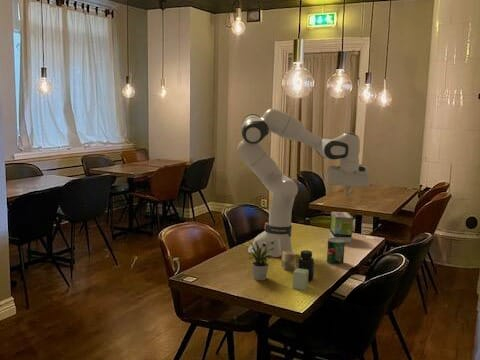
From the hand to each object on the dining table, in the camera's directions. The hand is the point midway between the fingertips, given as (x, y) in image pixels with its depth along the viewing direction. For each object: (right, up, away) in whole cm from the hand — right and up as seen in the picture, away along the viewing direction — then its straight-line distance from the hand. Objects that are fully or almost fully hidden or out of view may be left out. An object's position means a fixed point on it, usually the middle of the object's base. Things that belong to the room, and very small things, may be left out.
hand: (347, 194), depth 233 cm
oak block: (-30, -33, -15) cm, 47 cm away
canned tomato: (-7, -32, -5) cm, 33 cm away
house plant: (-45, -35, -30) cm, 64 cm away
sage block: (-28, -36, -39) cm, 60 cm away
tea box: (+4, -27, +36) cm, 45 cm away
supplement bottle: (-24, -35, -29) cm, 52 cm away
